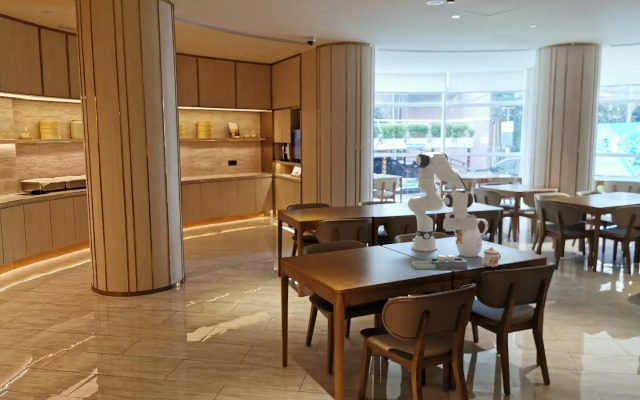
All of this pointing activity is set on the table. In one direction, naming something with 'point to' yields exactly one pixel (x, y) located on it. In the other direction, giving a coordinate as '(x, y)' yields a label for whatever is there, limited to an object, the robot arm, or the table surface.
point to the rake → (459, 238)
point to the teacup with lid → (491, 257)
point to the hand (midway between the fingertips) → (459, 236)
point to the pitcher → (472, 241)
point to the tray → (423, 265)
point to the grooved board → (450, 263)
